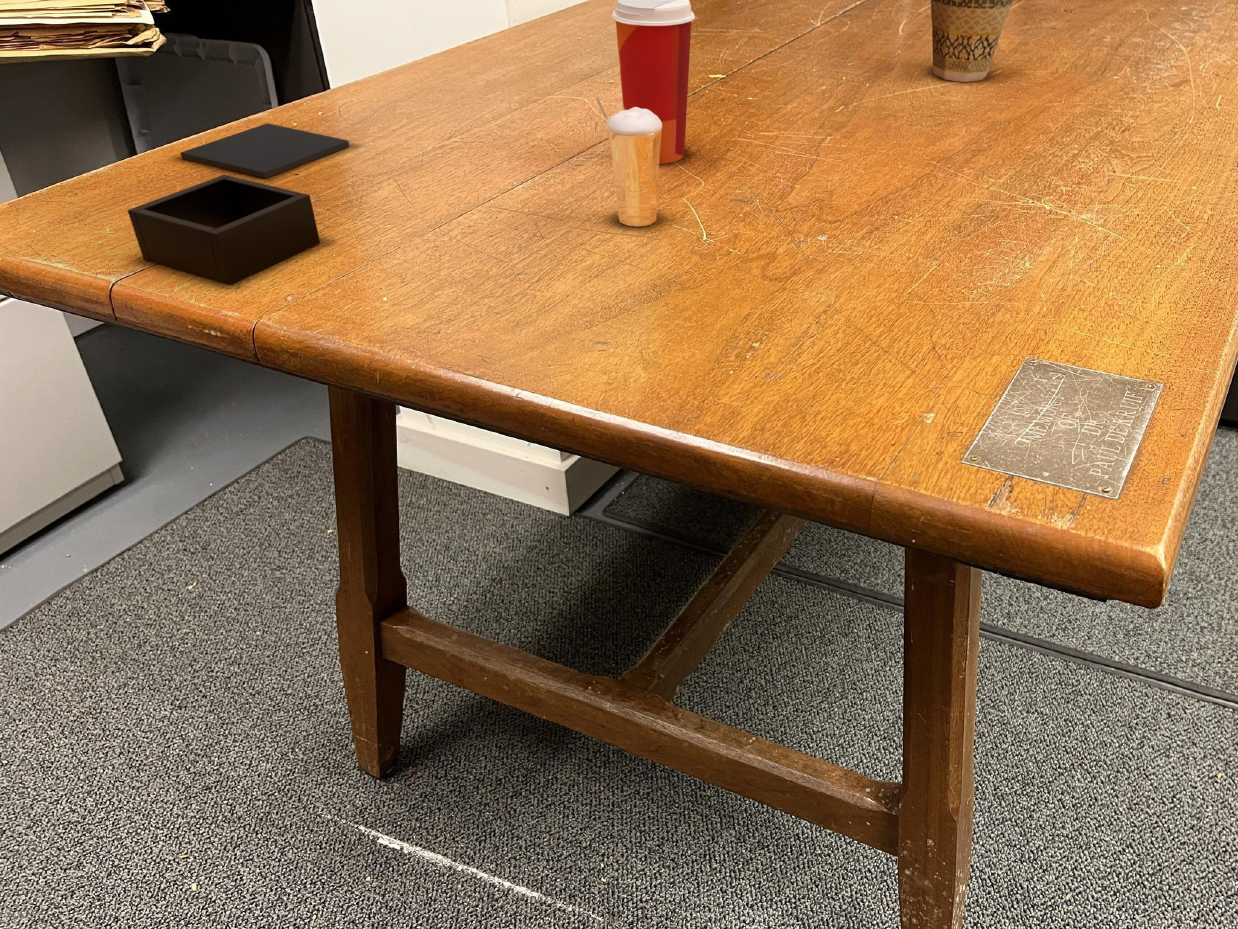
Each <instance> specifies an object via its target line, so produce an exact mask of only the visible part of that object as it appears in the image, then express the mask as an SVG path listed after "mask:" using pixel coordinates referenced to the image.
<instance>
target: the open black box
mask: <svg viewBox="0 0 1238 929" xmlns="http://www.w3.org/2000/svg"><path fill="white" fill-rule="evenodd" d="M127 213H128V216H129V220H130V223H131V225H132V229H133V231H134V235H135V238H136V241H137V244H138V247H139V250H140V253H141V256H142V259H143V260H144V261H147V262H151V263H154V264H158V265H161V266H165V267H168V268H172V269H175V270H179V271H182V272H185V273H187V274H193V275H196V276H199V277H202V278H206V279H210V280H213V281H216V282H218V283H219V282H220V283H223V284H226V285H229V286H230V285H233V284H235V283H237V282H240V281H241V280H244V279H246V278H248V277H250V276H253V275H254V274H257V273H258V272H259V273H260V272H261V271H263V270H265V269H267V268H270V267H272V266H274V265H276V264H278V263H280V262H283V261H284V260H287V259H289V258H292V257H293V256H296V255H297V254H300V253H302V252H304V251H306V250H308V249H311V248H312V247H313V248H314V247H315V246H317V245H319V244H321V239H320V234H319V231H318V226H317V222H316V217H315V212H314V209H313V203H312V200H311V195H310V194H307V193H303V192H299V191H295V190H291V189H286V188H281V187H278V186H273V185H271V184H265V183H261V182H257V181H253V180H249V179H245V178H241V177H236V176H232V175H228V174H222V175H219V176H216V177H214V178H211V179H208V180H206V181H203V182H200V183H198V184H195V185H192V186H188V187H186V188H184V189H181V190H178V191H175V192H173V193H169V194H167V195H165V196H161V197H159V198H157V199H154V200H152V201H149V202H145V203H143V204H140V205H138V206H135V207H132V208H130V209H127Z"/></svg>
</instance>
